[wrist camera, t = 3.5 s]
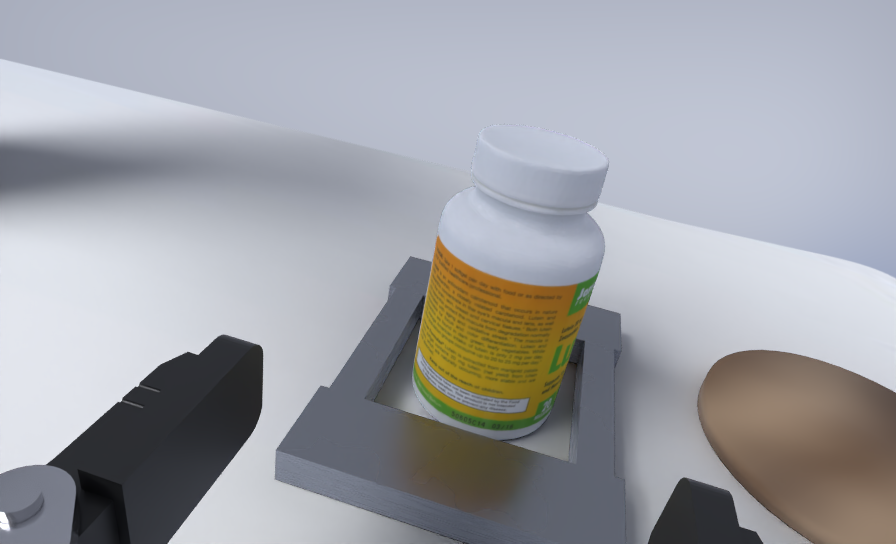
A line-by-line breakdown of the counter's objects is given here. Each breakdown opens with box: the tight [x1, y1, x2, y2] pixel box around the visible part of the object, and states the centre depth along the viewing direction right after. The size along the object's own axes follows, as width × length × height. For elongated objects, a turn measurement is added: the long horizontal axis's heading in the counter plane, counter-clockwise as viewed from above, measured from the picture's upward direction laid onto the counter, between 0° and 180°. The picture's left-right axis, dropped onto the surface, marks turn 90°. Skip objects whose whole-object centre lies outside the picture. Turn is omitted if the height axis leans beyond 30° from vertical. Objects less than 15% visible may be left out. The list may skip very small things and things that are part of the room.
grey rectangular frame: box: [275, 256, 626, 544], centre depth 22 cm, size 10×13×1 cm
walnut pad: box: [697, 350, 896, 544], centre depth 22 cm, size 11×11×1 cm
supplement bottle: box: [412, 124, 609, 440], centre depth 20 cm, size 5×5×10 cm
